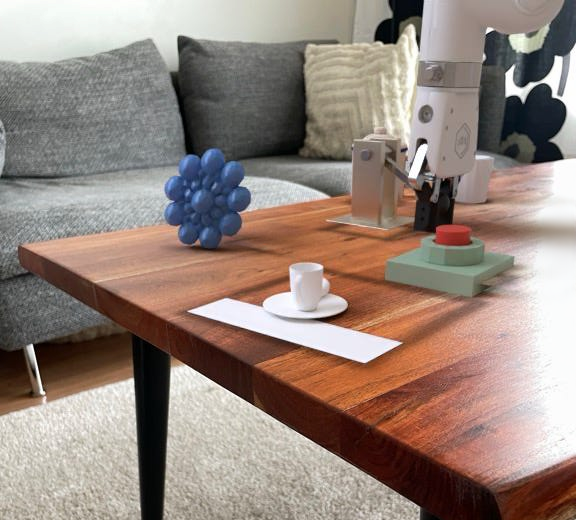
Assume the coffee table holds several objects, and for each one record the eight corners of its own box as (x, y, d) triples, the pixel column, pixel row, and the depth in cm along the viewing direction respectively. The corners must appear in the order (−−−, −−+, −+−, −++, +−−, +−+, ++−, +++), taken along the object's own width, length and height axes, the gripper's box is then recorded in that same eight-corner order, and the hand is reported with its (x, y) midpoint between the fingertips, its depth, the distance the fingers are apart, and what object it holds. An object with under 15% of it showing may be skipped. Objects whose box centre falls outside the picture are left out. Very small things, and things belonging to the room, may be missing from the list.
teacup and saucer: (303, 289, 73) (303, 250, 72) (368, 304, 69) (370, 263, 67) (245, 311, 67) (244, 268, 66) (312, 329, 63) (313, 284, 61)
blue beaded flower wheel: (264, 244, 92) (263, 146, 87) (244, 257, 86) (241, 152, 81) (182, 237, 95) (177, 142, 90) (157, 249, 89) (150, 148, 84)
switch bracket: (420, 227, 101) (427, 138, 96) (387, 238, 94) (392, 144, 90) (361, 218, 107) (364, 134, 102) (325, 228, 100) (327, 139, 95)
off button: (475, 244, 76) (477, 227, 75) (460, 250, 74) (461, 233, 73) (444, 239, 78) (446, 223, 77) (428, 245, 76) (430, 228, 75)
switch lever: (445, 219, 95) (458, 199, 93) (433, 223, 93) (447, 202, 91) (370, 156, 99) (381, 135, 97) (357, 158, 97) (368, 137, 95)
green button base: (512, 275, 78) (517, 239, 76) (471, 297, 71) (476, 258, 69) (429, 261, 84) (432, 227, 82) (384, 280, 77) (386, 243, 75)
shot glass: (444, 196, 123) (448, 154, 120) (485, 196, 123) (489, 154, 120) (451, 204, 117) (455, 159, 114) (493, 204, 117) (499, 159, 114)
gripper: (443, 80, 79) (426, 245, 87) (506, 79, 91) (486, 224, 99) (385, 77, 84) (374, 235, 91) (452, 77, 95) (437, 216, 103)
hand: (432, 228), depth 95 cm, fingers closed on switch lever, 3 cm apart
